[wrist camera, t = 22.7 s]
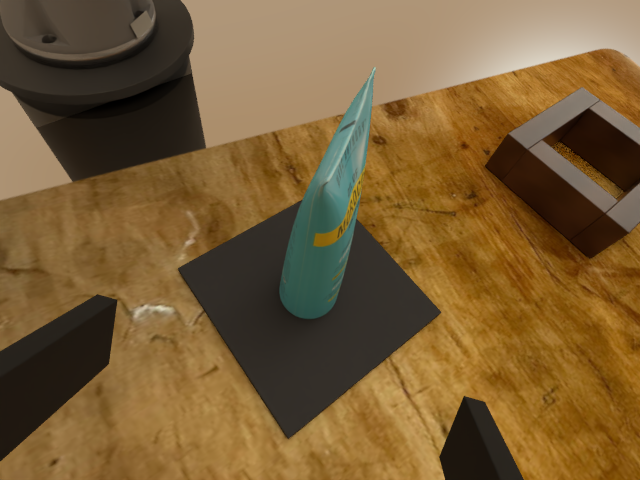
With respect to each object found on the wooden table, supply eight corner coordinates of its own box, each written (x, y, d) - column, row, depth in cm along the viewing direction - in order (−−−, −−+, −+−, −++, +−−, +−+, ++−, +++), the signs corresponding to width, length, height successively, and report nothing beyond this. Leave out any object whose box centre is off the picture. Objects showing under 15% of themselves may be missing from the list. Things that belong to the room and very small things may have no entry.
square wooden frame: (484, 166, 44) (507, 133, 40) (554, 120, 49) (582, 86, 45) (589, 258, 39) (629, 233, 35) (654, 196, 45) (696, 167, 40)
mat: (179, 271, 34) (177, 268, 33) (326, 189, 40) (327, 186, 39) (288, 439, 28) (288, 438, 28) (439, 314, 34) (441, 312, 34)
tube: (326, 340, 31) (392, 197, 15) (267, 324, 31) (268, 164, 15) (345, 260, 35) (413, 76, 19) (292, 246, 35) (314, 50, 19)
